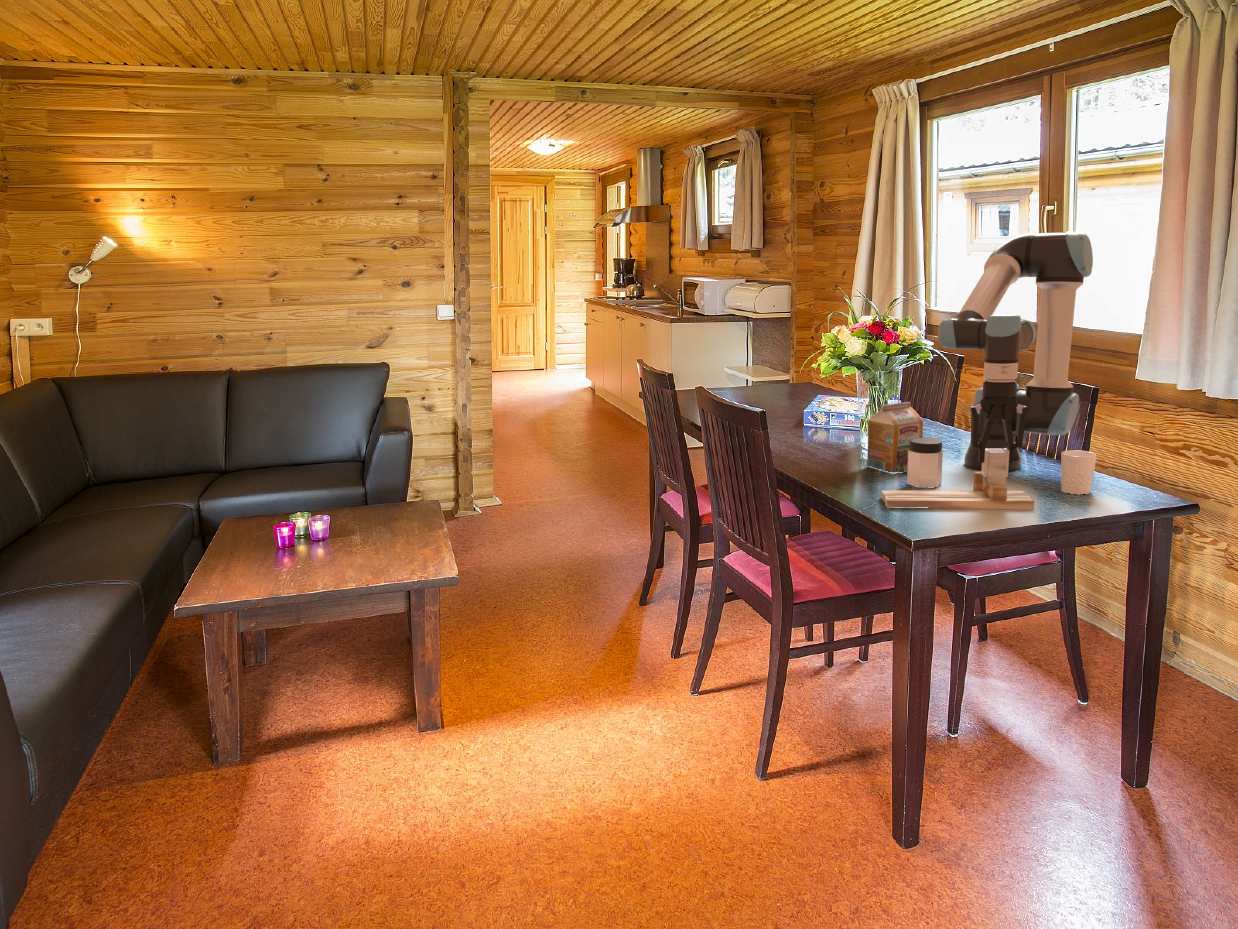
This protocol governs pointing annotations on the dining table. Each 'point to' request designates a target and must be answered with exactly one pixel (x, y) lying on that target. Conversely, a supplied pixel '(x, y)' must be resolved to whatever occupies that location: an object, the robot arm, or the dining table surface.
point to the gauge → (993, 476)
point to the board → (955, 499)
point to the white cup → (1077, 471)
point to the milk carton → (892, 436)
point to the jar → (925, 462)
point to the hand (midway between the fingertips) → (994, 475)
